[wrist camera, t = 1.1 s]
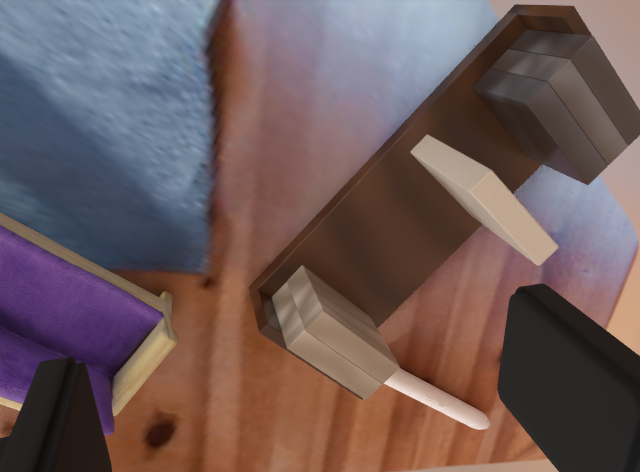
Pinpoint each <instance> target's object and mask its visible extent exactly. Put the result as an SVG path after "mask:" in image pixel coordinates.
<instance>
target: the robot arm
mask: <svg viewBox="0 0 640 472" xmlns="http://www.w3.org/2000/svg"><path fill="white" fill-rule="evenodd" d="M498 393H499V397H500V399H501V401H502V402H503V403H504V405H505V406H506V407H507V408H508V410H509V411H510V412H511V413H512V415H513V416H514V417H515V418H516V419H517V421H518V422H519V423H520V424H521V426H522V427H523V428H524V429H525V431H526V432H527V433H528V434H529V435H530V437H531V438H532V439H533V440H534V442H535V443H536V444H537V445H538V447H539V448H540V449H541V450H542V451H543V453H544V454H545V455H546V456H547V458H548V459H549V460H550V461H551V463H552V464H553V465H554V466H555V467H556V469H557V470H558V471H559V472H640V356H639V355H637V354H636V353H635V352H634V351H632V350H631V349H630V348H628V347H627V346H626V345H624V344H623V343H622V342H620V341H619V340H618V339H616V338H615V337H614V336H613V335H611V334H610V333H609V332H607V331H606V330H605V329H603V328H602V327H601V326H600V325H598V324H597V323H596V322H594V321H593V320H592V319H590V318H589V317H588V316H586V315H585V314H584V313H583V312H581V311H580V310H579V309H577V308H576V307H575V306H573V305H572V304H571V303H569V302H568V301H567V300H565V299H564V298H563V297H562V296H560V295H559V294H558V293H556V292H555V291H554V290H552V289H551V288H550V287H548V286H547V285H545V284H536V285H529V286H523V287H519V288H518V289H517V290H516V292H515V294H513V295H512V296H511V297H510V300H509V307H508V314H507V321H506V328H505V336H504V343H503V350H502V357H501V364H500V371H499V379H498ZM0 472H112V467H111V461H110V457H109V453H108V449H107V445H106V441H105V437H104V433H103V429H102V425H101V421H100V417H99V413H98V409H97V406H96V402H95V398H94V394H93V390H92V386H91V382H90V378H89V374H88V370H87V367H86V364H85V363H84V362H81V363H76V362H75V360H74V358H73V357H65V358H59V359H52V360H46V361H41V362H40V363H39V365H38V367H37V369H36V372H35V374H34V377H33V379H32V382H31V385H30V387H29V390H28V392H27V395H26V397H25V400H24V402H23V405H22V407H21V410H20V412H19V415H18V417H17V420H16V422H15V425H14V427H13V430H12V432H11V435H10V437H4V438H0Z"/></svg>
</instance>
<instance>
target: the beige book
mask: <svg viewBox="0 0 640 472" xmlns="http://www.w3.org/2000/svg"><path fill="white" fill-rule="evenodd" d="M411 154H412V155H413V156H414V157H415V158H416V159H417V160H418V161H419V162H420V163H421V164H422V165H423V166H424V167H425V168H426V169H427V170H428V171H429V172H430V173H431V174H432V175H433V177H434V178H435V179H436V180H437V181H438V182H439V183H440V184H441V185H442V186H443V187H444V188H445V189H446V190H447V191H448V192H449V193H450V194H451V195H452V196H453V197H454V198H455V199H456V200H457V201H458V202H459V204H460V205H461V206H462V207H463V208H464V209H465V210H466V211H467V212H468V213H469V214H470V215H471V216H472V217H474V218H475V219H476V220H478V221H479V222H480V223H482V224H483V225H484V226H486V227H487V228H488V229H490V230H491V231H492V232H494V233H495V234H496V235H498V236H499V237H500V238H502V239H503V240H504V241H506V242H507V243H508V244H510V245H511V246H512V247H514V248H515V249H516V250H518V251H519V252H520V253H522V254H523V255H524V256H526V257H527V258H528V259H530V260H531V261H532V262H534V263H535V264H536V265H538V266H540V265H541V264H542V263H543V262H544V261H545V260H546V259H547V258H548V257H549V256H550V255H551V254H553V253H554V252H555V251H556V250H557V249H558V248H559V246H558V245H557V244H556V243H555V242H554V241H553V239H552V238H551V237H550V236H549V235H548V234H547V233H546V231H545V230H544V229H543V228H542V227H541V226H540V225H539V223H538V222H537V221H536V220H535V219H534V218H533V217H532V215H531V214H530V213H529V212H528V211H527V210H526V209H525V207H524V206H523V205H522V204H521V203H520V202H519V201H518V199H517V198H516V197H515V196H514V195H513V194H512V193H511V191H510V190H509V189H508V188H507V187H506V186H505V185H504V183H503V182H502V181H501V180H500V179H499V178H498V177H497V175H496V174H495V173H494V172H493V171H492V170H491V169H489V168H487V167H485V166H484V165H482V164H480V163H478V162H476V161H475V160H473V159H471V158H469V157H467V156H466V155H464V154H462V153H460V152H458V151H457V150H455V149H453V148H451V147H449V146H448V145H446V144H444V143H442V142H440V141H439V140H437V139H435V138H433V137H431V136H430V135H428V134H427V135H426V136H425V137H424V138H423V139H422V140H421V141H420V142H419V143H418V144H417V145H416V146H415V147H414V148H413V149H412V151H411Z"/></svg>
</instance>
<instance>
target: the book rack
mask: <svg viewBox="0 0 640 472" xmlns="http://www.w3.org/2000/svg"><path fill="white" fill-rule="evenodd" d="M427 134H428V135H430V136H431V137H433V138H435V139H437V140H439V141H440V142H442V143H444V144H446V145H448V146H449V147H451V148H453V149H455V150H457V151H458V152H460V153H462V154H464V155H466V156H467V157H469V158H471V159H473V160H475V161H476V162H478V163H480V164H482V165H484V166H485V167H487V168H489V169H491V170H492V171H493V172H494V173H495V174H496V175H497V177H498V178H499V179H500V180H501V181H502V182H503V183H504V185H505V186H506V187H507V188H508V189H509V190H510V191H511V193H512V194H513V193H514V192H515V191H516V190H517V189H518V188H519V187H520V186H521V185H522V184H523V183H524V182H525V181H526V180H527V179H528V178H529V177H530V176H531V175H532V174H533V173H534V172H535V171H536V170H537V169H538V168H539V167H540V166H541V165H542V164H543V165H545V166H548V167H550V168H552V169H554V170H556V171H558V172H561V173H563V174H565V175H567V176H569V177H572V178H574V179H576V180H578V181H580V182H582V183H585V184H587V185H589V184H590V183H591V182H592V181H593V180H594V179H595V178H596V177H597V176H598V175H599V174H600V173H601V172H602V171H603V170H604V169H605V168H606V167H607V165H609V164H610V163H611V162H612V161H613V160H614V159H616V158H617V157H618V156H619V155H620V154H621V153H622V152H623V151H624V150H625V149H626V148H627V147H628V145H630V144H631V143H632V142H633V141H634V140H635V139H636V138H637V137H638V136H639V135H640V110H639V109H638V107H637V105H636V104H635V102H634V100H633V99H632V97H631V96H630V94H629V93H628V91H627V89H626V88H625V86H624V84H623V83H622V81H621V80H620V78H619V76H618V75H617V73H616V72H615V70H614V68H613V67H612V65H611V64H610V62H609V60H608V59H607V57H606V56H605V54H604V52H603V51H602V49H601V48H600V46H599V44H598V43H597V41H596V40H595V38H594V36H592V35H591V33H590V32H589V30H588V29H587V27H586V25H585V23H584V22H583V20H582V19H581V17H580V15H579V14H578V12H577V11H576V9H575V7H574V6H555V5H514V6H513V7H512V8H511V10H510V11H509V12H508V13H507V14H506V15H505V16H504V17H503V18H502V19H501V20H500V21H499V22H498V24H497V25H496V26H495V27H494V28H493V29H492V30H491V31H490V32H489V33H488V34H487V35H486V36H485V37H484V38H483V39H482V41H481V42H480V43H479V44H478V45H477V46H476V47H475V48H474V49H473V50H472V51H471V52H470V53H469V54H468V55H467V56H466V58H465V59H464V60H463V61H462V62H461V63H460V64H459V65H458V66H457V67H456V68H455V69H454V70H453V71H452V72H451V73H450V75H449V76H448V77H447V78H446V79H445V80H444V81H443V82H442V83H441V84H440V85H439V86H438V87H437V88H436V89H435V90H434V92H433V93H432V94H431V95H430V96H429V97H428V98H427V99H426V100H425V101H424V102H423V103H422V104H421V105H420V106H419V107H418V109H417V110H416V111H415V112H414V113H413V114H412V115H411V116H410V117H409V118H408V119H407V120H406V121H405V122H404V123H403V124H402V125H401V127H400V128H399V129H398V130H397V131H396V132H395V133H394V134H393V135H392V136H391V137H390V138H389V139H388V140H387V141H386V142H385V144H384V145H383V146H382V147H381V148H380V149H379V150H378V151H377V152H376V153H375V154H374V155H373V156H372V157H371V158H370V159H369V161H368V162H367V163H366V164H365V165H364V166H363V167H362V168H361V169H360V170H359V171H358V172H357V173H356V174H355V175H354V176H353V178H352V179H351V180H350V181H349V182H348V183H347V184H346V185H345V186H344V187H343V188H342V189H341V190H340V191H339V192H338V193H337V195H336V196H335V197H334V198H333V199H332V200H331V201H330V202H329V203H328V204H327V205H326V206H325V207H324V208H323V209H322V210H321V212H320V213H319V214H318V215H317V216H316V217H315V218H314V219H313V220H312V221H311V222H310V223H309V224H308V225H307V226H306V227H305V229H304V230H303V231H302V232H301V233H300V234H299V235H298V236H297V237H296V238H295V239H294V240H293V241H292V242H291V243H290V244H289V246H288V247H287V248H286V249H285V250H284V251H283V252H282V253H281V254H280V255H279V256H278V257H277V258H276V259H275V260H274V261H273V263H272V264H271V265H270V266H269V267H268V268H267V269H266V270H265V271H264V272H263V273H262V274H261V275H260V276H259V277H258V278H257V280H256V281H255V282H254V283H253V284H252V285H251V286H250V287H249V292H250V296H251V300H252V304H253V308H254V312H255V316H256V321H257V325H258V329H259V332H260V333H261V334H262V335H264V336H265V337H267V338H268V339H270V340H271V341H273V342H275V343H276V344H278V345H279V346H281V347H282V348H284V349H285V350H287V351H288V352H290V353H291V354H293V355H294V356H296V357H297V358H299V359H301V360H302V361H304V362H305V363H307V364H308V365H310V366H311V367H313V368H314V369H316V370H317V371H319V372H320V373H322V374H323V375H325V376H327V377H328V378H330V379H331V380H333V381H334V382H336V383H337V384H339V385H340V386H342V387H343V388H345V389H346V390H348V391H349V392H351V393H353V394H354V395H356V396H357V397H359V398H360V399H365V400H367V399H368V398H369V397H370V396H371V395H372V394H373V393H374V392H375V391H376V390H377V389H378V388H379V387H380V386H381V385H382V383H383V384H384V383H385V382H386V381H387V380H388V379H389V378H390V377H391V376H392V375H393V374H394V373H395V372H396V371H397V370H398V369H399V368H400V366H399V364H398V363H397V361H396V359H395V358H394V356H393V354H392V353H391V351H390V349H389V348H388V346H387V344H386V343H385V341H384V339H383V337H382V336H381V334H380V332H379V331H378V329H377V328H378V327H379V326H380V325H381V324H382V323H383V322H384V321H385V320H386V319H387V318H388V317H389V316H390V315H391V314H392V313H393V312H394V311H395V310H396V309H397V308H398V307H399V306H400V305H401V304H402V303H403V302H404V301H405V300H406V299H407V298H408V297H409V296H410V295H411V294H412V293H413V292H414V291H415V290H416V289H417V288H418V287H419V286H420V285H421V284H422V283H423V282H424V281H425V280H426V279H427V278H428V277H429V276H430V275H431V274H432V273H433V272H434V271H435V270H436V269H437V268H438V267H439V266H440V265H441V264H442V263H443V262H444V261H445V260H446V259H447V258H448V257H449V256H450V255H451V254H452V253H453V252H454V251H455V250H456V249H457V248H458V247H459V246H460V245H461V244H463V243H464V242H465V241H466V240H467V239H468V238H469V237H470V236H471V235H472V234H473V233H474V232H475V231H476V230H477V229H478V228H479V227H480V226H481V225H482V223H480V222H479V221H478V220H476V219H475V218H474V217H472V216H471V215H470V214H469V213H468V212H467V211H466V210H465V209H464V208H463V207H462V206H461V205H460V204H459V202H458V201H457V200H456V199H455V198H454V197H453V196H452V195H451V194H450V193H449V192H448V191H447V190H446V189H445V188H444V187H443V186H442V185H441V184H440V183H439V182H438V181H437V180H436V179H435V178H434V177H433V175H432V174H431V173H430V172H429V171H428V170H427V169H426V168H425V167H424V166H423V165H422V164H421V163H420V162H419V161H418V160H417V159H416V158H415V157H414V156H413V155H412V154H411V151H412V149H413V148H414V147H415V146H416V145H417V144H418V143H419V142H420V141H421V140H422V139H423V138H424V137H425V136H426V135H427Z"/></svg>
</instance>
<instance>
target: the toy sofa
mask: <svg viewBox="0 0 640 472" xmlns="http://www.w3.org/2000/svg"><path fill="white" fill-rule="evenodd" d="M172 304H173V296H172V294H170V293H169V292H166V291H164V292H163V293H162V294H161V295H160V296H159V297H157V296H155V295H154V294H152V293H150V292H148V291H146V290H144V289H142V288H140V287H138V286H137V285H135V284H133V283H131V282H129V281H127V280H125V279H123V278H122V277H120V276H118V275H116V274H114V273H112V272H110V271H108V270H107V269H105V268H103V267H101V266H99V265H97V264H95V263H93V262H91V261H90V260H88V259H86V258H84V257H82V256H80V255H78V254H77V253H75V252H73V251H71V250H69V249H67V248H66V247H64V246H62V245H60V244H58V243H57V242H55V241H53V240H51V239H49V238H47V237H45V236H44V235H42V234H40V233H38V232H36V231H34V230H32V229H30V228H29V227H27V226H25V225H23V224H21V223H19V222H17V221H16V220H14V219H12V218H10V217H8V216H6V215H4V214H3V213H1V212H0V404H2V405H5V406H8V407H10V408H13V409H16V410H19V411H20V410H21V407H22V405H23V402H24V400H25V397H26V395H27V392H28V390H29V387H30V385H31V382H32V379H33V377H34V374H35V372H36V369H37V367H38V365H39V363H40V362H41V361H46V360H52V359H59V358H65V357H73V358H74V360H75V362H76V363H81V362H84V363H85V364H86V367H87V370H88V374H89V378H90V382H91V386H92V390H93V394H94V398H95V402H96V406H97V409H98V413H99V417H100V421H101V425H102V429H103V433H104V436H105V435H110V434H112V433H113V432H114V416H115V415H117V414H118V413H119V412H120V411H121V410H122V409H123V407H124V406H125V405H126V404H127V403H128V401H129V400H130V399H131V398H132V397H133V395H134V394H135V393H136V392H137V391H138V390H139V388H140V387H141V386H142V385H143V384H144V382H145V381H146V380H147V379H148V378H149V376H150V375H151V374H152V373H153V372H154V370H155V369H156V368H157V367H158V366H159V364H160V363H161V362H162V361H163V360H164V359H165V357H166V356H167V355H168V354H169V353H170V351H171V350H172V349H173V348H174V347H175V345H176V344H177V343H178V340H179V339H178V336H177V334H176V332H175V331H174V330H173V329H172Z"/></svg>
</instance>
